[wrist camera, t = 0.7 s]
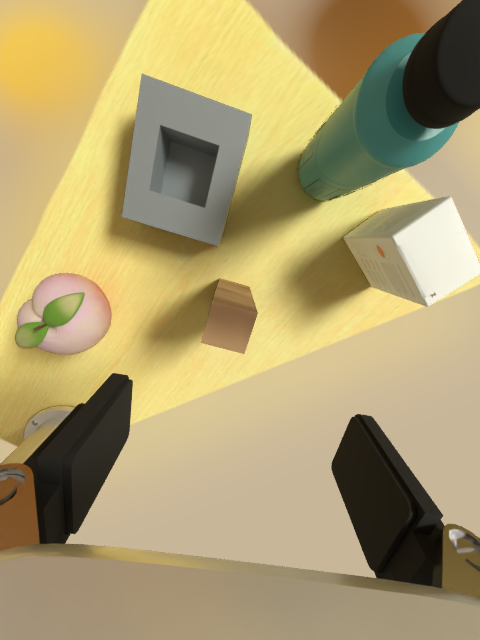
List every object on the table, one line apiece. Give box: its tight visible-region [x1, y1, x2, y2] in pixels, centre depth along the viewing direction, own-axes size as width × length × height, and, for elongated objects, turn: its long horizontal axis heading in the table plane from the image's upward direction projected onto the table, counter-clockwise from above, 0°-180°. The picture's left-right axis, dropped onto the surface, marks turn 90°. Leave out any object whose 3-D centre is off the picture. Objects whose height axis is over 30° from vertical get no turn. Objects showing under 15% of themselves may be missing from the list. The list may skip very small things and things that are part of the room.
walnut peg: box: [201, 278, 258, 354], centre depth 27 cm, size 4×4×12 cm
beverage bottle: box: [298, 0, 480, 202], centre depth 19 cm, size 6×7×20 cm
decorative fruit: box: [15, 273, 111, 355], centre depth 28 cm, size 9×8×10 cm
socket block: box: [122, 74, 252, 246], centre depth 26 cm, size 12×10×5 cm
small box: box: [343, 196, 480, 307], centre depth 27 cm, size 8×6×10 cm
